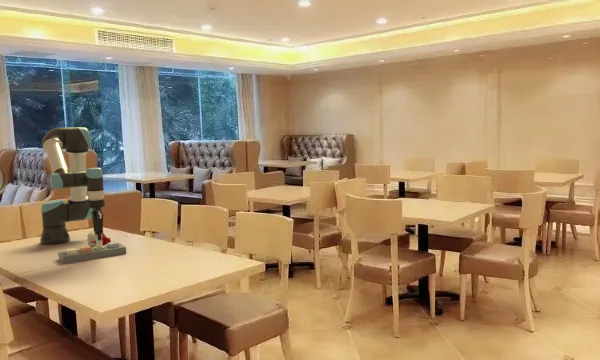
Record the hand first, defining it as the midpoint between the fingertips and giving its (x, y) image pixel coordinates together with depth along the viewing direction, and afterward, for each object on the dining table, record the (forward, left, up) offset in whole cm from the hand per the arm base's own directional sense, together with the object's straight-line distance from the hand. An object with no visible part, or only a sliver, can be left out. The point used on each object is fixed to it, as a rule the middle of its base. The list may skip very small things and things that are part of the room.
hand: (99, 246), depth 251 cm
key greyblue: (0, +7, -2) cm, 7 cm away
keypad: (0, -3, -4) cm, 5 cm away
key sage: (0, 0, -3) cm, 3 cm away
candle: (-19, +4, -5) cm, 20 cm away
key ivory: (0, -13, -2) cm, 13 cm away
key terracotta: (0, -6, -2) cm, 7 cm away
